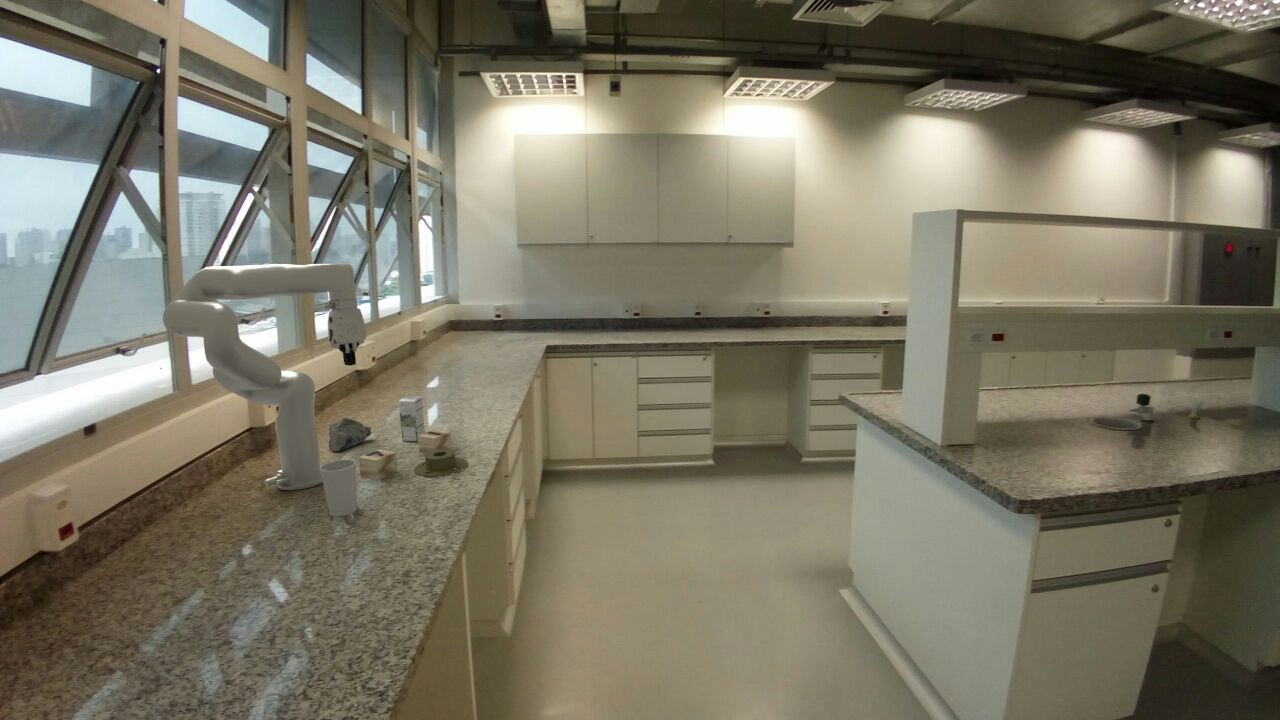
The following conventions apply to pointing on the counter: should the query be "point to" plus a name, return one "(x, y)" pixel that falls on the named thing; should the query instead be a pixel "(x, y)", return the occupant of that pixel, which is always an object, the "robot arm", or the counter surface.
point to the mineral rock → (347, 434)
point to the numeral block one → (434, 441)
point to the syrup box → (411, 418)
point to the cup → (340, 486)
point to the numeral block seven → (378, 464)
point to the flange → (440, 463)
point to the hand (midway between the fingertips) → (350, 364)
